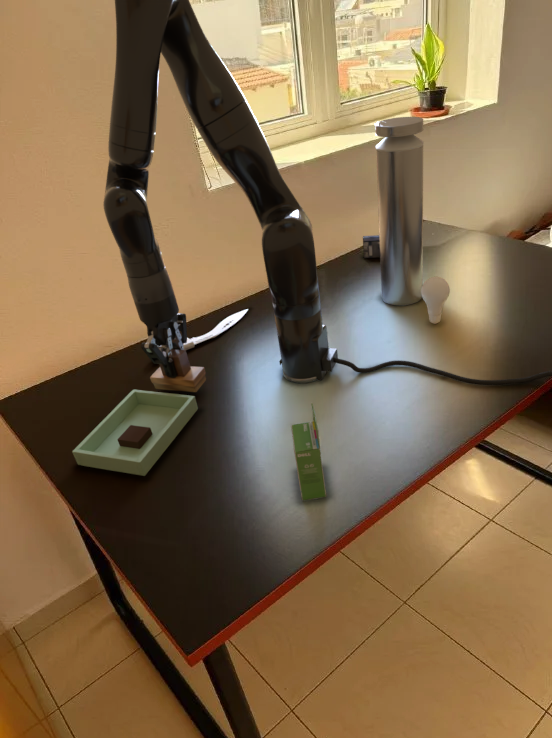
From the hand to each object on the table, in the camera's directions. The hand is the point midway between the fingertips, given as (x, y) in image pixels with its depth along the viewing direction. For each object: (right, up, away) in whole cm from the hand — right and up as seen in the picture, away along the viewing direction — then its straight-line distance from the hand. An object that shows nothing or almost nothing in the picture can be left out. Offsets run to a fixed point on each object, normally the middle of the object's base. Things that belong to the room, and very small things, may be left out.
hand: (176, 371), depth 115 cm
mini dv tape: (+48, +36, +51) cm, 79 cm away
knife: (+2, +10, +23) cm, 25 cm away
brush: (0, -3, +2) cm, 3 cm away
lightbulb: (+56, +11, +14) cm, 58 cm away
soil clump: (-5, -13, -10) cm, 17 cm away
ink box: (+27, -19, -24) cm, 41 cm away
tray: (-5, -13, -8) cm, 16 cm away
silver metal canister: (+50, +20, +27) cm, 61 cm away
